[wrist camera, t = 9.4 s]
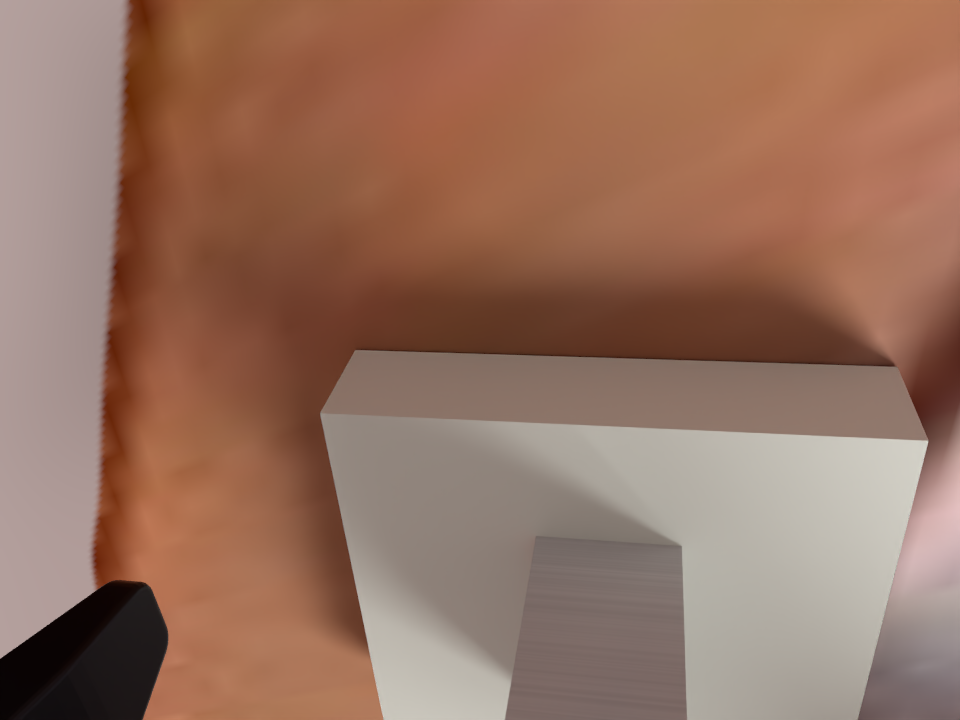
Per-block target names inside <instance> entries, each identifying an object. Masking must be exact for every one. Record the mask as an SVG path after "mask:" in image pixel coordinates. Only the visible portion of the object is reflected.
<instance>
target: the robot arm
mask: <svg viewBox="0 0 960 720" xmlns="http://www.w3.org/2000/svg"><path fill="white" fill-rule="evenodd" d="M167 646H168V630H167V626H166V624H165V621H164V619H163V616H162V614H161V611H160V609H159V606H158V604H157V601H156V599H155V596H154V594H153V591H152V589H151V588H150V587H149V586H148V585H147V584H146V583H144V582H136V581H123V580H115V581H111V582H109V583H107V584H105V585H104V586H102V587H101V588H99V589H98V590H97V591H95V592H94V593H92V594H91V595H89V596H88V597H87V598H85V599H84V600H82V601H81V602H80V603H78V604H77V605H75V606H74V607H73V608H71V609H70V610H68V611H67V612H65V613H64V614H63V615H61V616H60V617H58V618H57V619H56V620H54V621H53V622H51V623H50V624H49V625H47V626H46V627H44V628H43V629H42V630H40V631H39V632H37V633H36V634H34V635H33V636H32V637H30V638H29V639H28V640H26V641H25V642H23V643H22V644H20V645H19V646H18V647H16V648H15V649H13V650H12V651H11V652H9V653H8V654H6V655H5V656H3V657H2V658H1V659H0V720H143V717H144V714H145V712H146V709H147V706H148V703H149V700H150V697H151V694H152V691H153V688H154V686H155V683H156V680H157V677H158V674H159V671H160V668H161V665H162V663H163V660H164V657H165V654H166V650H167Z"/></svg>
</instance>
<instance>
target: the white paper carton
mask: <svg viewBox="0 0 960 720" xmlns="http://www.w3.org/2000/svg"><path fill="white" fill-rule="evenodd" d="M505 720H687V703H686V669H685V635H684V601H683V567H682V546H673V545H658V544H644V543H629V542H615V541H600V540H585V539H571V538H556V537H542V536H536V538H535V544H534V550H533V556H532V562H531V568H530V574H529V580H528V586H527V591H526V597H525V603H524V609H523V615H522V621H521V627H520V633H519V639H518V645H517V650H516V656H515V662H514V668H513V674H512V680H511V686H510V692H509V698H508V704H507V710H506V715H505Z"/></svg>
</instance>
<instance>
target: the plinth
mask: <svg viewBox="0 0 960 720" xmlns="http://www.w3.org/2000/svg"><path fill="white" fill-rule="evenodd" d="M320 416H321V421H322V425H323V430H324V435H325V440H326V445H327V450H328V454H329V459H330V464H331V469H332V474H333V478H334V483H335V488H336V493H337V498H338V503H339V507H340V512H341V517H342V522H343V527H344V531H345V536H346V541H347V546H348V551H349V555H350V560H351V565H352V570H353V575H354V580H355V584H356V589H357V594H358V599H359V604H360V608H361V613H362V618H363V623H364V628H365V633H366V637H367V642H368V647H369V652H370V657H371V661H372V666H373V671H374V676H375V681H376V685H377V690H378V695H379V700H380V705H381V710H382V714H383V719H384V720H505V715H506V710H507V704H508V698H509V692H510V686H511V680H512V674H513V668H514V662H515V656H516V650H517V645H518V639H519V633H520V627H521V621H522V615H523V609H524V603H525V597H526V591H527V586H528V580H529V574H530V568H531V562H532V556H533V550H534V544H535V538H536V536H542V537H556V538H571V539H585V540H600V541H615V542H629V543H644V544H658V545H673V546H682V567H683V601H684V635H685V669H686V703H687V720H858V716H859V713H860V709H861V705H862V701H863V697H864V693H865V689H866V685H867V681H868V677H869V673H870V669H871V665H872V661H873V657H874V653H875V649H876V646H877V642H878V638H879V634H880V630H881V626H882V622H883V618H884V614H885V610H886V606H887V602H888V598H889V594H890V590H891V586H892V582H893V579H894V575H895V571H896V567H897V563H898V559H899V555H900V551H901V547H902V543H903V539H904V535H905V531H906V527H907V523H908V519H909V516H910V512H911V508H912V504H913V500H914V496H915V492H916V488H917V484H918V480H919V476H920V472H921V468H922V464H923V460H924V456H925V452H926V449H927V445H928V439H927V436H926V434H925V431H924V429H923V427H922V424H921V422H920V420H919V417H918V415H917V413H916V410H915V408H914V405H913V403H912V401H911V398H910V396H909V394H908V391H907V389H906V386H905V384H904V382H903V379H902V377H901V375H900V372H899V370H898V367H887V366H855V365H823V364H791V363H759V362H726V361H694V360H662V359H630V358H597V357H565V356H533V355H501V354H468V353H436V352H404V351H372V350H355V351H354V353H353V355H352V357H351V358H350V360H349V362H348V364H347V366H346V367H345V369H344V371H343V373H342V375H341V376H340V378H339V380H338V382H337V384H336V385H335V387H334V389H333V391H332V393H331V394H330V396H329V398H328V400H327V401H326V403H325V405H324V407H323V409H322V410H321V412H320Z"/></svg>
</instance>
